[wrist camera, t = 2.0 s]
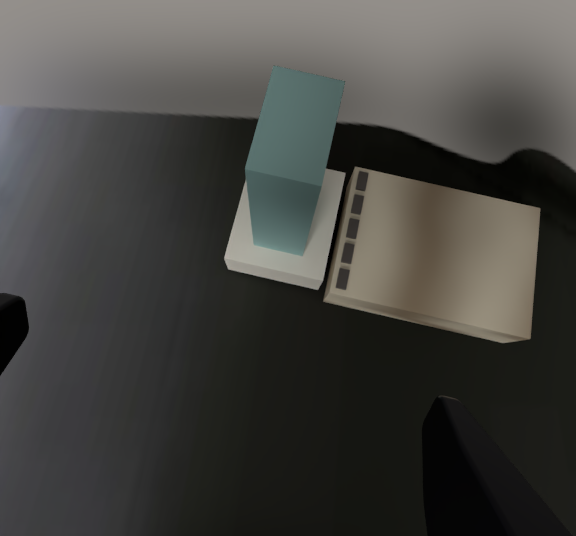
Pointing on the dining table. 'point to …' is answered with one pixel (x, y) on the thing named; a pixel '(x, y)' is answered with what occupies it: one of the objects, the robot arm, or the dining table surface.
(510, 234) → the beige flat block
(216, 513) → the dining table surface
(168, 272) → the dining table surface
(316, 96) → the teal pillar on base
